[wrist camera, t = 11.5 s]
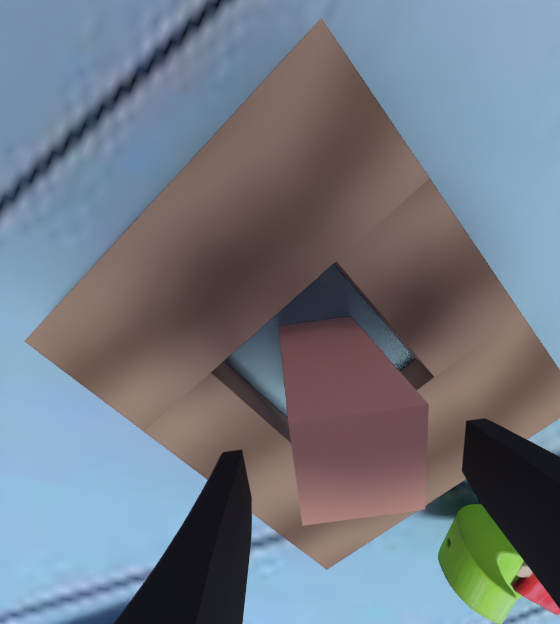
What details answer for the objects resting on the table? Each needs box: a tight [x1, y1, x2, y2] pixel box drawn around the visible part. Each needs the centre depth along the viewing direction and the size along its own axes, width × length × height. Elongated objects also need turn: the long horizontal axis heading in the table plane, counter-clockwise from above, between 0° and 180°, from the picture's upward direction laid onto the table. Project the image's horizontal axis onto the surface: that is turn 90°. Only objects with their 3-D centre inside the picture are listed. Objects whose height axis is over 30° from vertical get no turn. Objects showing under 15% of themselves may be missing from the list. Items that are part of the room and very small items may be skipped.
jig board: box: [25, 18, 560, 569], centre depth 15 cm, size 22×18×2 cm
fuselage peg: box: [279, 316, 429, 526], centre depth 13 cm, size 4×4×8 cm
